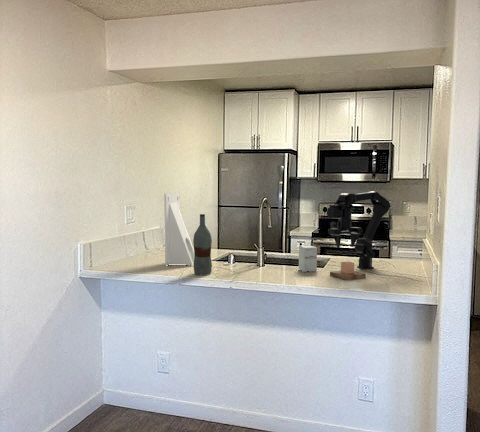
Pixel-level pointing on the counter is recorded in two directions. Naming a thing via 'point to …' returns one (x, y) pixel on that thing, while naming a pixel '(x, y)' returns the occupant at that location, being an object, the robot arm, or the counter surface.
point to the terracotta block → (347, 267)
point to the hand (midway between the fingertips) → (345, 247)
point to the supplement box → (308, 258)
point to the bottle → (202, 248)
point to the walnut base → (347, 275)
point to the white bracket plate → (176, 233)
